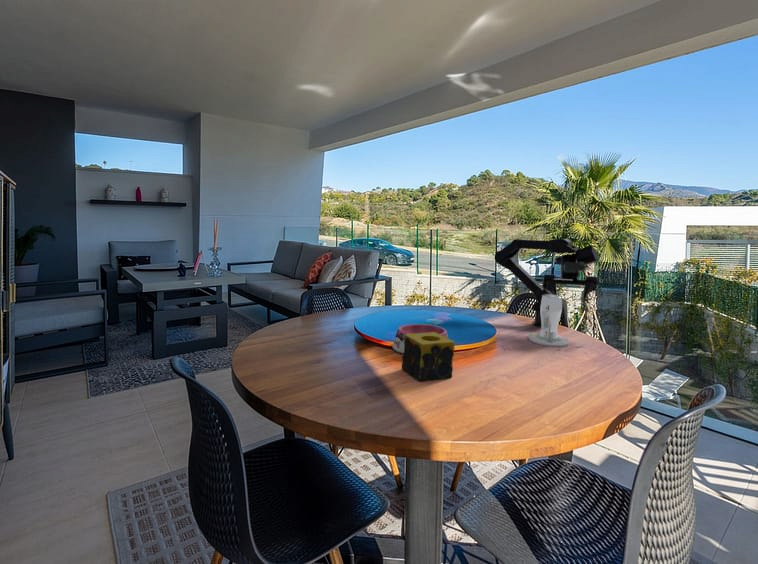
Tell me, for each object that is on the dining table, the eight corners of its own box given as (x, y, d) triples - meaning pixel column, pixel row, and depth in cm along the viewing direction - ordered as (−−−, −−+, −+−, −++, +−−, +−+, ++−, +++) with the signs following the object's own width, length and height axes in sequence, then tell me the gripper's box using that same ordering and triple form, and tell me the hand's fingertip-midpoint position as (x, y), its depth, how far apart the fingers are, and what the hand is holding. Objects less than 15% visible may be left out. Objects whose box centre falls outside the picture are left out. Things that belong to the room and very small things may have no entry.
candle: (400, 369, 114) (402, 333, 112) (433, 365, 118) (435, 331, 116) (418, 383, 104) (420, 344, 103) (453, 378, 108) (455, 341, 107)
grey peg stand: (527, 334, 156) (528, 322, 155) (565, 338, 152) (566, 326, 152) (529, 343, 144) (530, 330, 143) (570, 348, 140) (572, 334, 139)
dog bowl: (384, 343, 139) (385, 323, 138) (435, 340, 144) (436, 321, 143) (404, 360, 121) (405, 338, 120) (461, 357, 127) (462, 335, 126)
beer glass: (563, 338, 147) (567, 296, 145) (550, 340, 143) (554, 297, 141) (546, 333, 153) (550, 293, 151) (533, 335, 149) (537, 294, 147)
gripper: (544, 253, 159) (544, 285, 150) (599, 254, 153) (602, 288, 144) (542, 272, 167) (542, 303, 158) (594, 274, 161) (596, 307, 152)
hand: (570, 300), depth 153 cm, fingers open, 9 cm apart
